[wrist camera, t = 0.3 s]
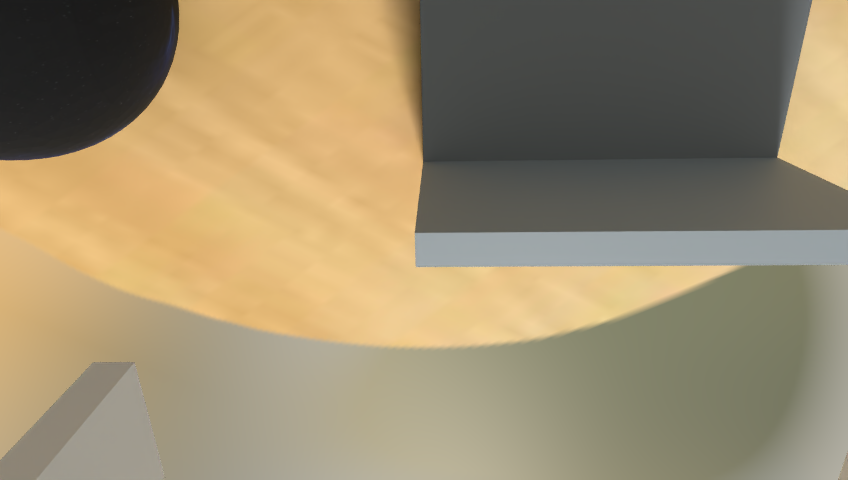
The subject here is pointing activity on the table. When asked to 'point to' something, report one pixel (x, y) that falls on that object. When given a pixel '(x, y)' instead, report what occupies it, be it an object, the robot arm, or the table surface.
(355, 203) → the table surface
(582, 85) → the shelf
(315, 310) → the table surface
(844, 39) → the table surface
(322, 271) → the table surface
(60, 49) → the decorative sphere
